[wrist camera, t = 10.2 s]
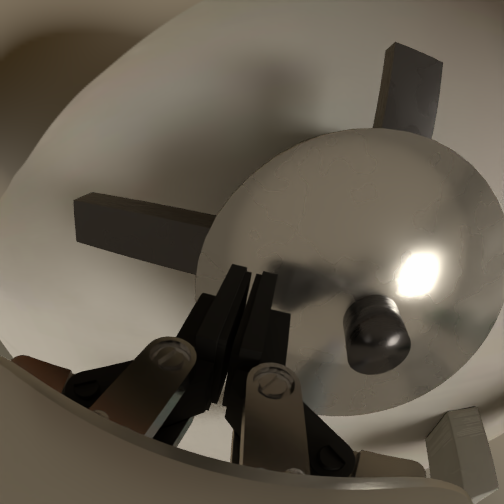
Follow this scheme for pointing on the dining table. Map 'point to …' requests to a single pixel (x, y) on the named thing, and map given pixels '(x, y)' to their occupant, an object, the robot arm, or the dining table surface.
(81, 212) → the cooker
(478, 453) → the skincare box
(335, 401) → the lid
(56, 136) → the dining table surface
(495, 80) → the dining table surface
